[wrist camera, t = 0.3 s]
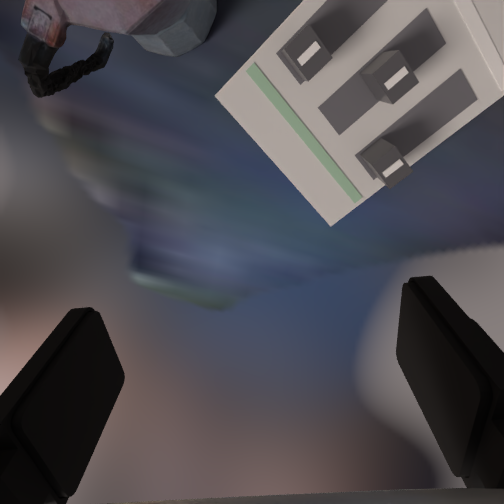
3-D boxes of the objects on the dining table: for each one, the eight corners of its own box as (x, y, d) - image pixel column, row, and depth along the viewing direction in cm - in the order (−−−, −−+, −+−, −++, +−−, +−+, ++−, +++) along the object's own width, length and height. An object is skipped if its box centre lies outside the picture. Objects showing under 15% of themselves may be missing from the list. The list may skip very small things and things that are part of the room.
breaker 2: (382, 52, 29) (399, 49, 25) (400, 80, 30) (419, 82, 27) (359, 73, 30) (372, 74, 26) (377, 100, 31) (393, 104, 27)
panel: (443, -149, 25) (457, -166, 23) (537, 57, 31) (555, 56, 29) (217, 94, 33) (214, 96, 31) (327, 219, 39) (330, 226, 37)
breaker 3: (380, 137, 32) (395, 146, 29) (397, 160, 33) (413, 171, 30) (359, 154, 33) (371, 165, 30) (376, 176, 34) (390, 189, 31)
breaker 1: (302, 29, 28) (308, 23, 25) (324, 59, 29) (333, 57, 26) (281, 51, 29) (284, 49, 26) (302, 79, 30) (308, 81, 27)
